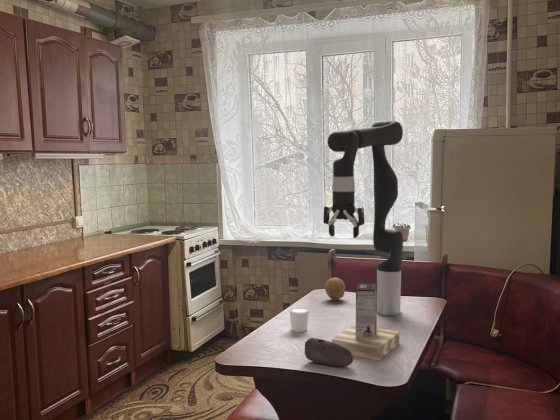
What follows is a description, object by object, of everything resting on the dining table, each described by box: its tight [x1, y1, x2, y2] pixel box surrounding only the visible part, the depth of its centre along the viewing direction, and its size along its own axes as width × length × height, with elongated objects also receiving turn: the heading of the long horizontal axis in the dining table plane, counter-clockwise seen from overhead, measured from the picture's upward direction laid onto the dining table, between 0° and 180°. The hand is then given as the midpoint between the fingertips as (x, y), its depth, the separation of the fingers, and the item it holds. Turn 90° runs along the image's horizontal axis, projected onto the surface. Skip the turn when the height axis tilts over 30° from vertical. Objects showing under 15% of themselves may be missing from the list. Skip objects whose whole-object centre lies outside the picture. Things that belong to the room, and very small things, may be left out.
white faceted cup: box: [289, 307, 310, 333], centre depth 198 cm, size 7×7×7 cm
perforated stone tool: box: [304, 337, 354, 368], centre depth 164 cm, size 15×5×7 cm, turn 59°
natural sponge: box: [324, 276, 346, 301], centre depth 240 cm, size 9×9×10 cm
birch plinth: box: [331, 324, 400, 361], centre depth 179 cm, size 18×16×4 cm
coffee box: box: [355, 282, 378, 340], centre depth 178 cm, size 9×6×16 cm
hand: (343, 236), depth 191 cm, fingers open, 8 cm apart
